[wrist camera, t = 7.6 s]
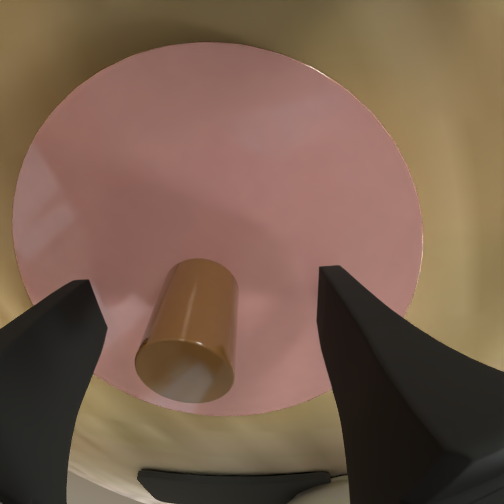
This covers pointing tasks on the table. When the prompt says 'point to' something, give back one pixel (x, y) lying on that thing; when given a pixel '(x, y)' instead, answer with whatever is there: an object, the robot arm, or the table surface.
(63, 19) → the table surface
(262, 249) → the pink knobbed disc
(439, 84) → the table surface
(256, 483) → the phone
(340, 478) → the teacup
